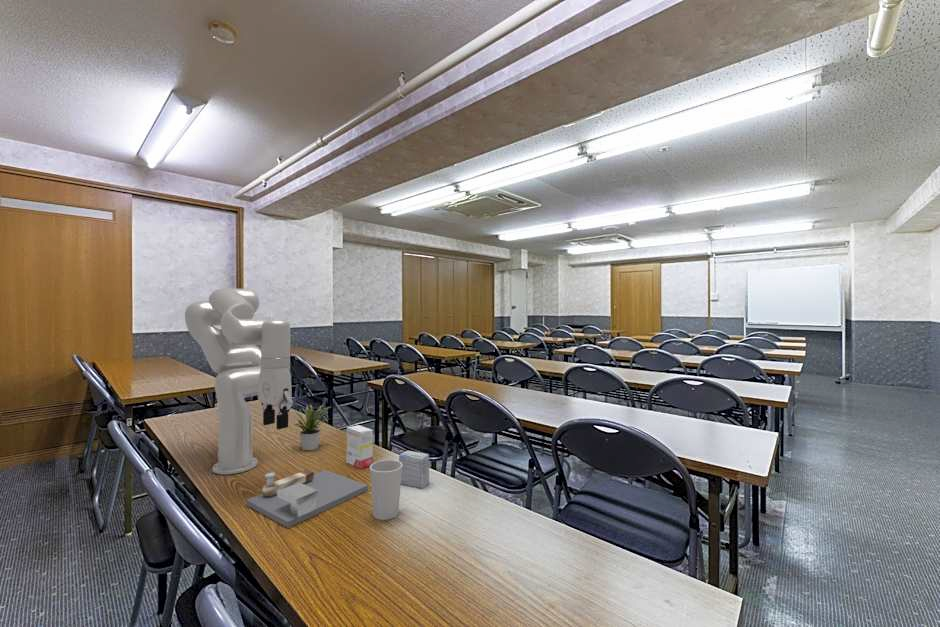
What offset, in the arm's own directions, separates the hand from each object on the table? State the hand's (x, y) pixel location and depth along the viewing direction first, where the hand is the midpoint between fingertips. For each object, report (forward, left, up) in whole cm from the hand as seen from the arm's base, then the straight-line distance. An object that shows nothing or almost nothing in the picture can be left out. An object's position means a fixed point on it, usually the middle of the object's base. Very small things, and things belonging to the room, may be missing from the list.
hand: (275, 425), depth 116 cm
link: (+7, 0, -16) cm, 17 cm away
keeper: (+20, -6, -16) cm, 26 cm away
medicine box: (+31, +24, -18) cm, 43 cm away
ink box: (+6, +26, -18) cm, 32 cm away
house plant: (-19, +26, -18) cm, 36 cm away
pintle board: (+14, +2, -18) cm, 23 cm away
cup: (+37, +8, -18) cm, 42 cm away
